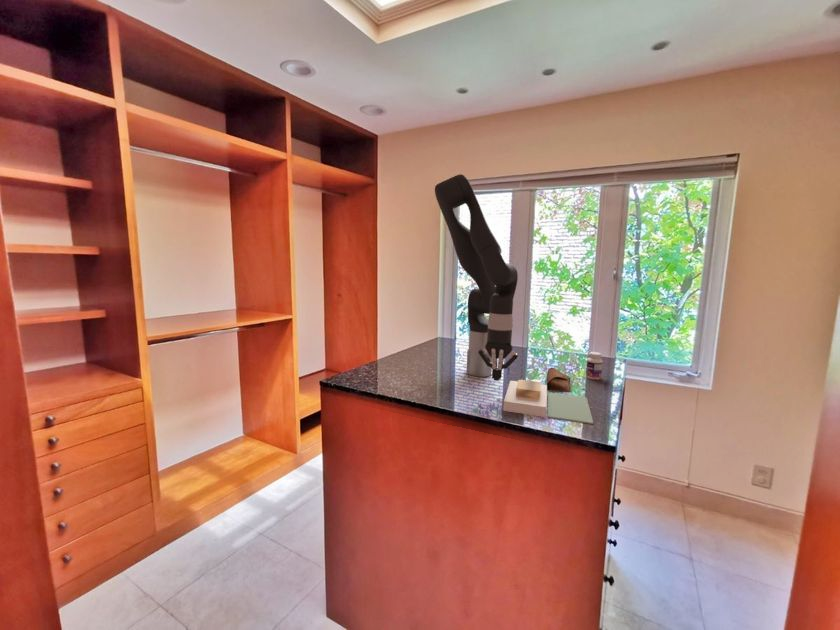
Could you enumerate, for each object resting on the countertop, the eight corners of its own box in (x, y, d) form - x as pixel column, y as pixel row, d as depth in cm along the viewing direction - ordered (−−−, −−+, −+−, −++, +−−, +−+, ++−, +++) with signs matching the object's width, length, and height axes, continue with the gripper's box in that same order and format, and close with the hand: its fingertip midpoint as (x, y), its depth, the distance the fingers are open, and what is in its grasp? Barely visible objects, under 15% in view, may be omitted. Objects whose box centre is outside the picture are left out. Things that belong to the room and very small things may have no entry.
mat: (547, 417, 106) (547, 416, 106) (547, 393, 125) (547, 392, 125) (593, 424, 103) (593, 422, 102) (586, 398, 121) (586, 397, 121)
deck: (503, 410, 110) (503, 401, 110) (509, 388, 129) (510, 380, 129) (545, 417, 107) (546, 407, 106) (546, 393, 125) (546, 384, 125)
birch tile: (515, 396, 114) (516, 388, 114) (518, 386, 122) (518, 379, 122) (539, 399, 112) (540, 391, 111) (540, 389, 120) (540, 382, 120)
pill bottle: (582, 375, 146) (585, 351, 144) (596, 375, 146) (598, 351, 144) (590, 379, 140) (592, 355, 139) (603, 379, 141) (606, 354, 139)
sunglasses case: (572, 392, 126) (563, 375, 126) (553, 400, 129) (543, 383, 129) (570, 377, 143) (561, 361, 143) (552, 384, 145) (544, 368, 146)
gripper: (476, 327, 116) (473, 380, 118) (520, 331, 111) (516, 386, 114) (481, 323, 123) (478, 373, 125) (522, 327, 118) (519, 379, 120)
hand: (496, 379), depth 119 cm, fingers closed
